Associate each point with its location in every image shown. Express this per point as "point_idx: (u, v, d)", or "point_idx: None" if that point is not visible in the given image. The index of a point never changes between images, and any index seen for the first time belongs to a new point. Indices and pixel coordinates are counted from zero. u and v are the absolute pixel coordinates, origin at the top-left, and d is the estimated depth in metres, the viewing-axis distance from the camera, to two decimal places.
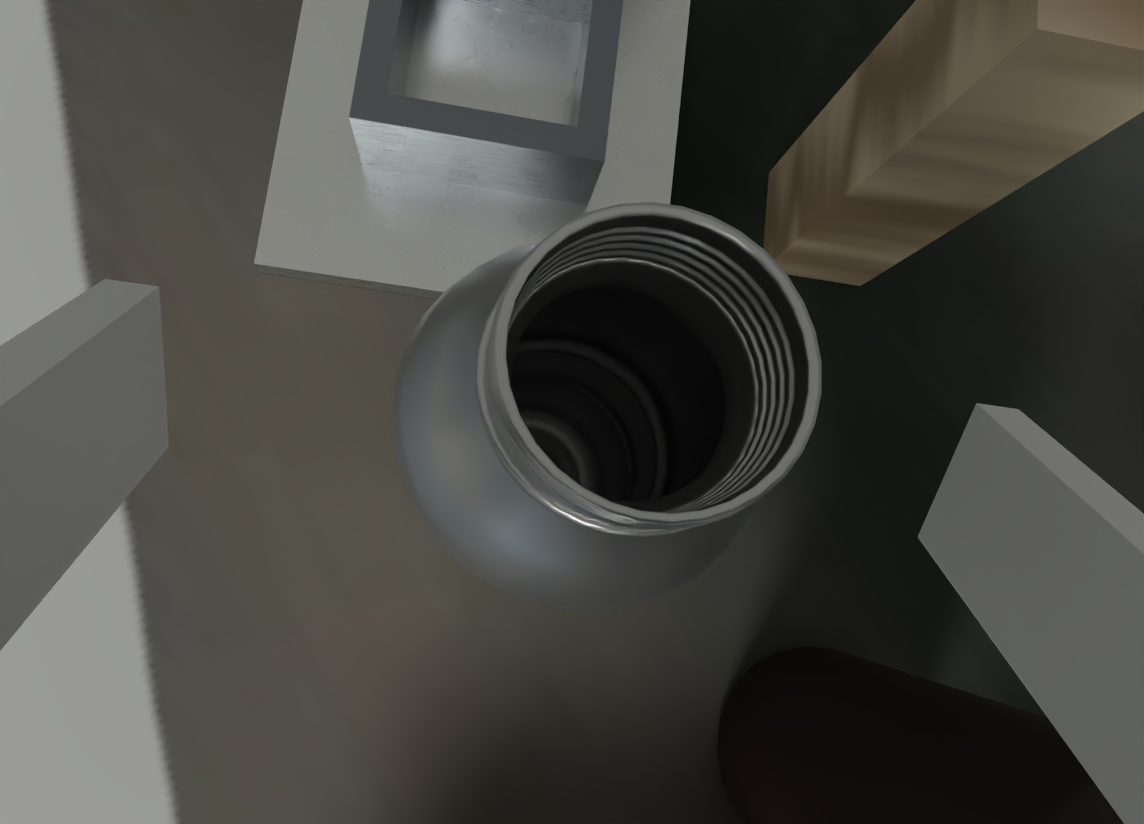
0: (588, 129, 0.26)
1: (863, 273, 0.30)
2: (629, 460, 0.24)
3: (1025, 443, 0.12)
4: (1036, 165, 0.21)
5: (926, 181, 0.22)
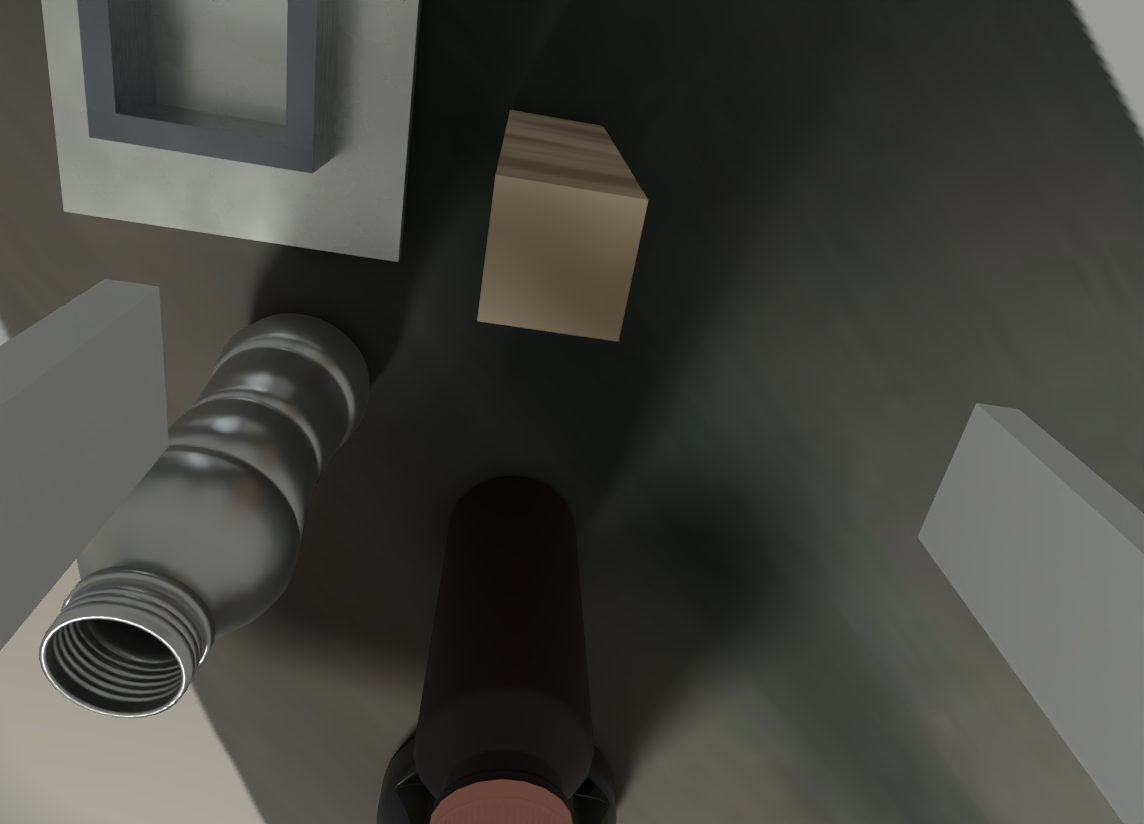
0: (295, 144, 0.30)
1: None
2: None
3: (1025, 443, 0.12)
4: None
5: None
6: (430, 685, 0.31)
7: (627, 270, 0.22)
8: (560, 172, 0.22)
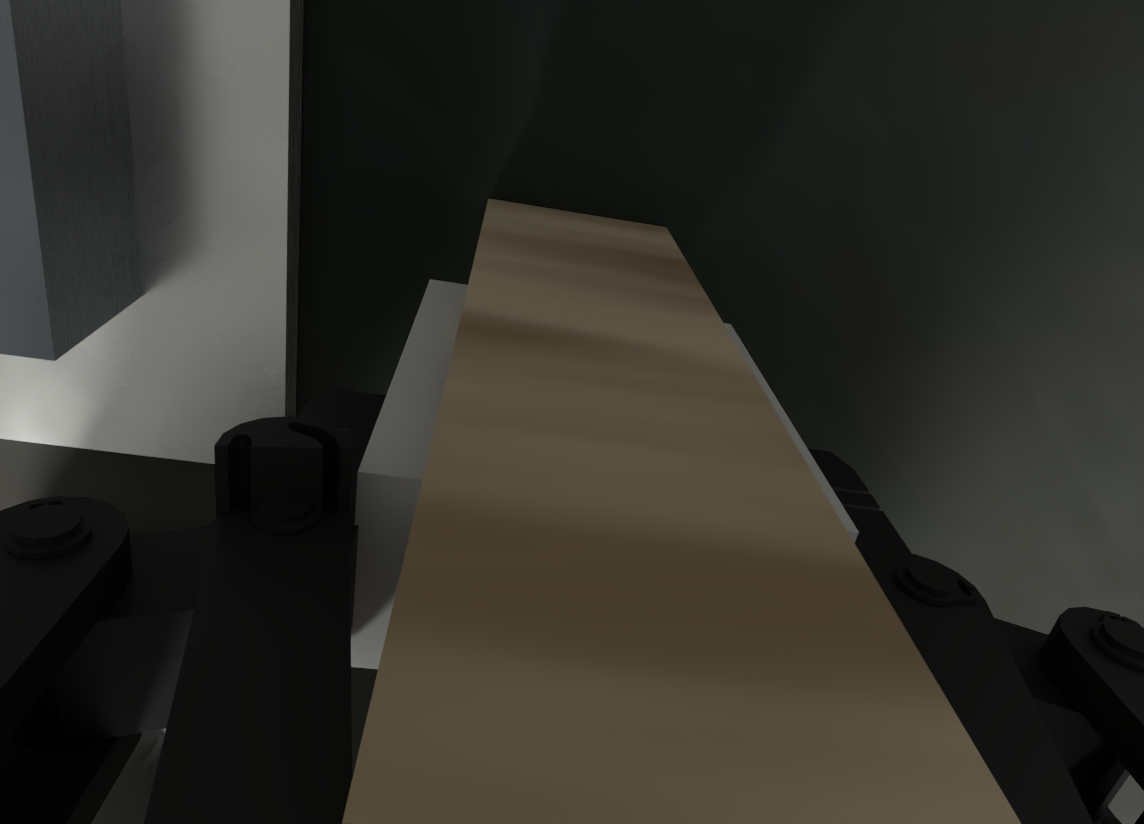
0: (8, 303, 0.14)
1: None
2: None
3: None
4: None
5: None
6: None
7: None
8: (629, 607, 0.06)
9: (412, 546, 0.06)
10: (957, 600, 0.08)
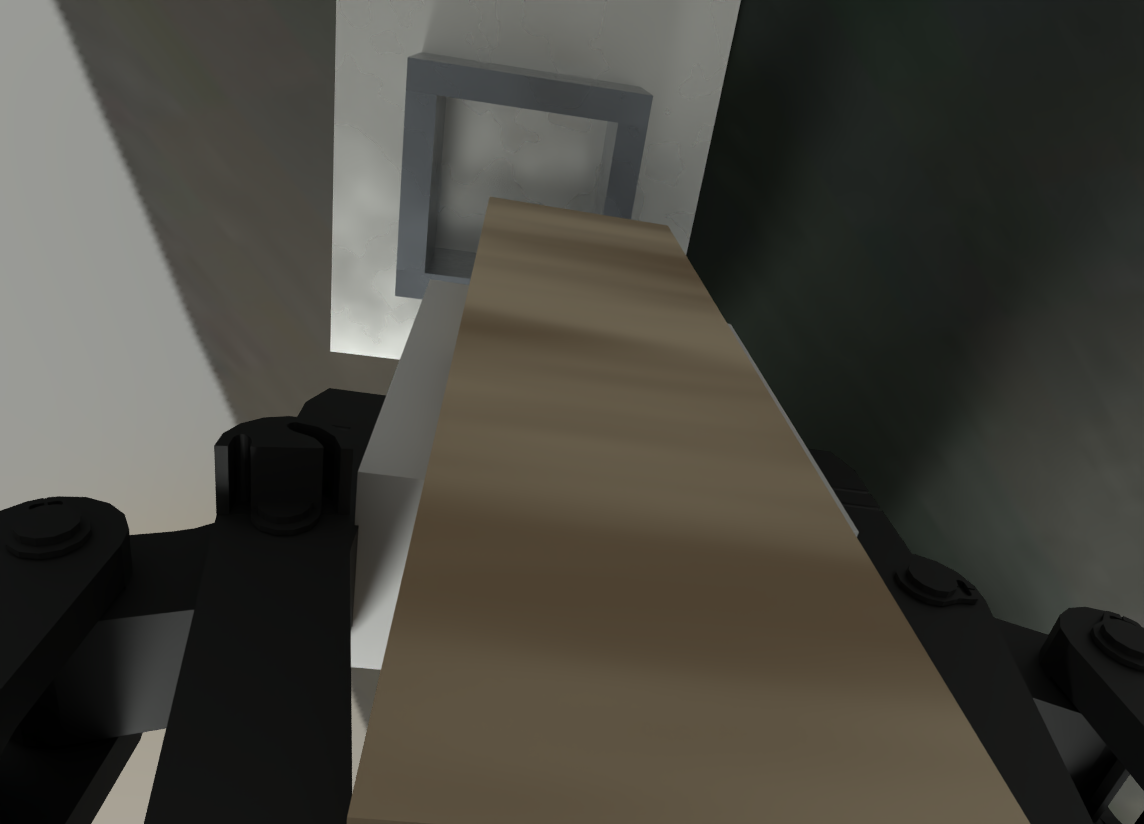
0: None
1: None
2: None
3: None
4: None
5: None
6: None
7: None
8: (634, 603, 0.06)
9: (415, 542, 0.06)
10: (957, 600, 0.08)
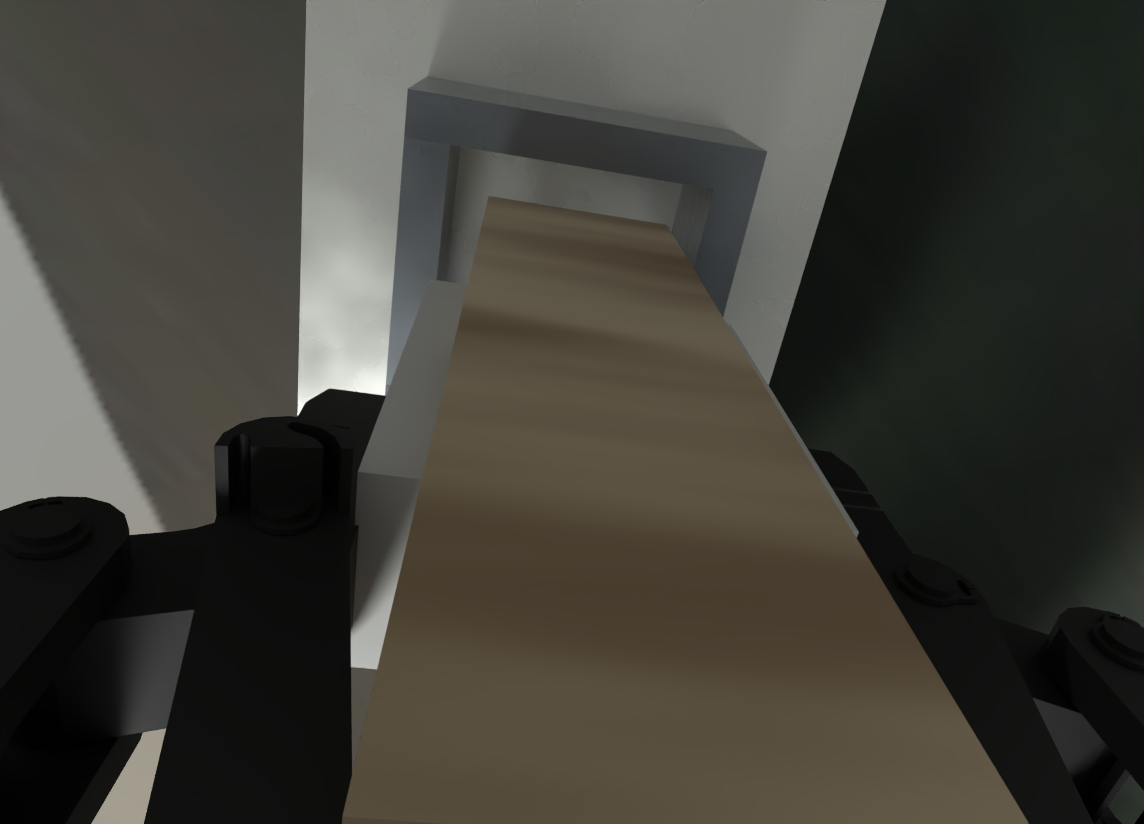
0: None
1: None
2: None
3: None
4: None
5: None
6: None
7: None
8: (631, 602, 0.06)
9: (413, 541, 0.06)
10: (957, 600, 0.08)
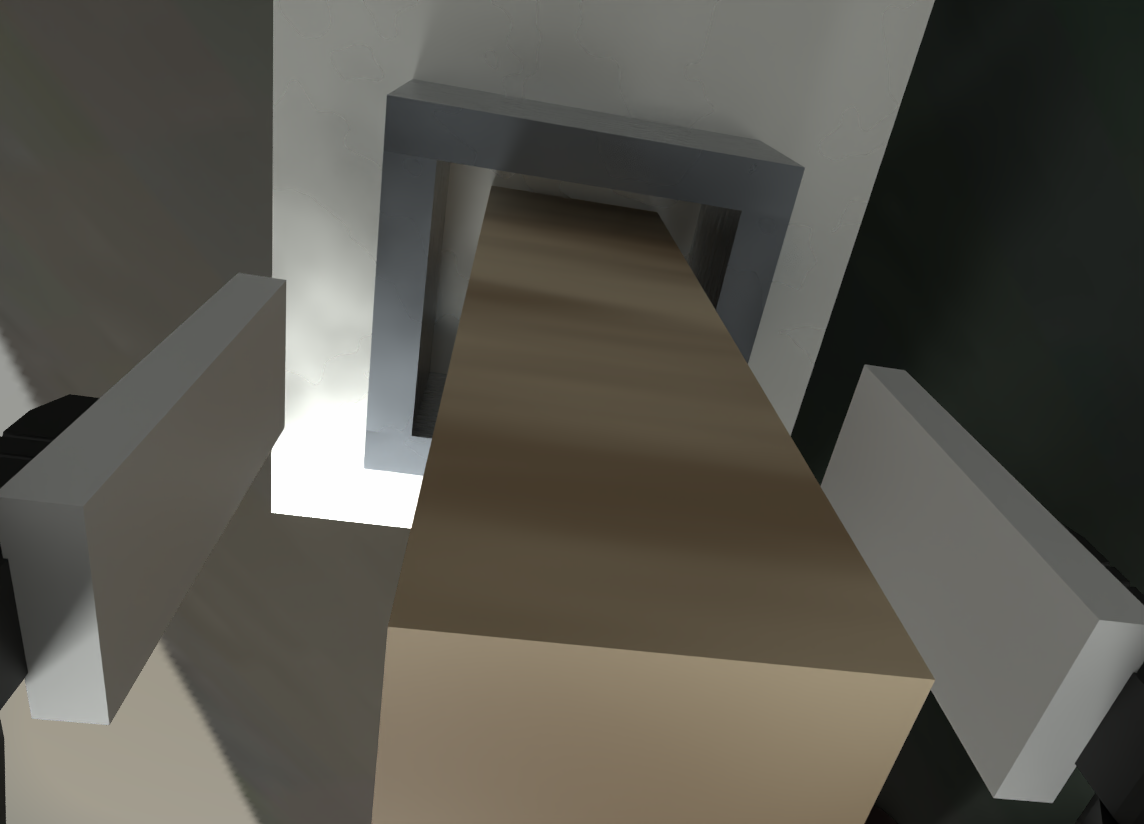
0: None
1: None
2: None
3: (900, 398, 0.13)
4: None
5: None
6: None
7: None
8: (612, 500, 0.07)
9: (433, 453, 0.08)
10: None
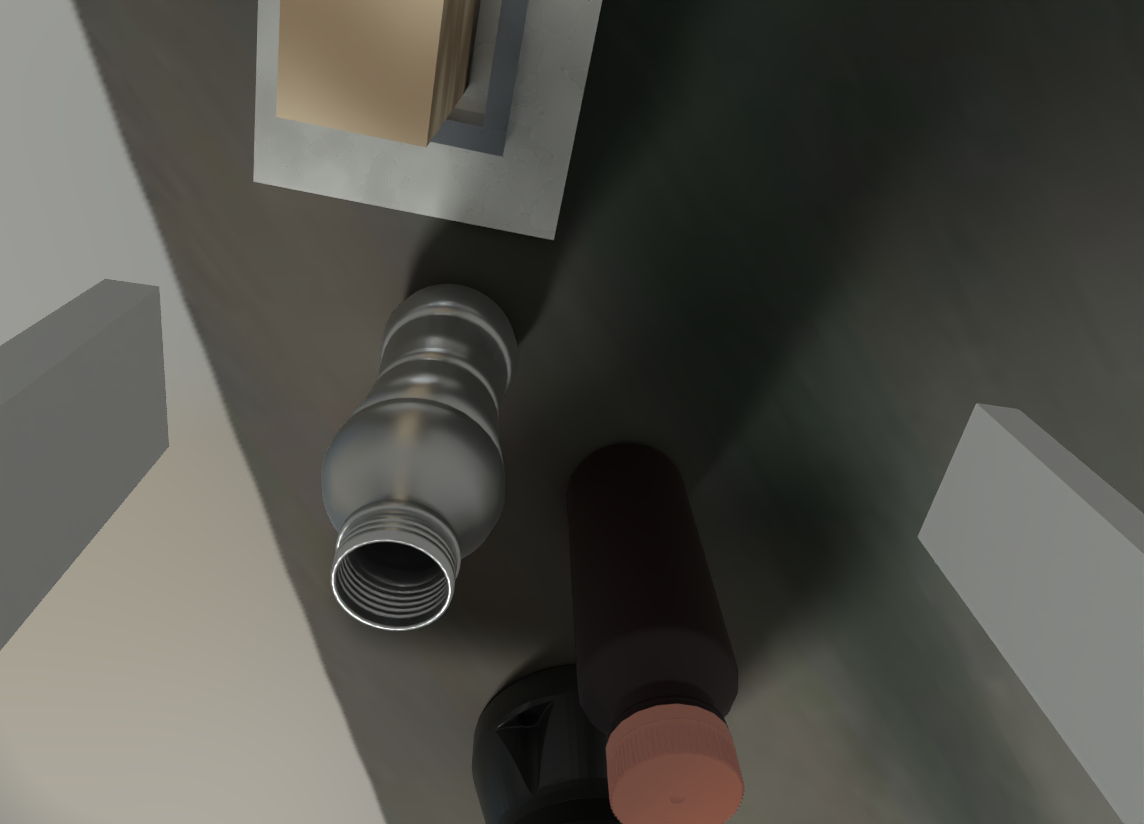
0: (491, 129, 0.33)
1: None
2: None
3: (1025, 442, 0.12)
4: None
5: None
6: (591, 624, 0.34)
7: (429, 65, 0.21)
8: None
9: None
10: None
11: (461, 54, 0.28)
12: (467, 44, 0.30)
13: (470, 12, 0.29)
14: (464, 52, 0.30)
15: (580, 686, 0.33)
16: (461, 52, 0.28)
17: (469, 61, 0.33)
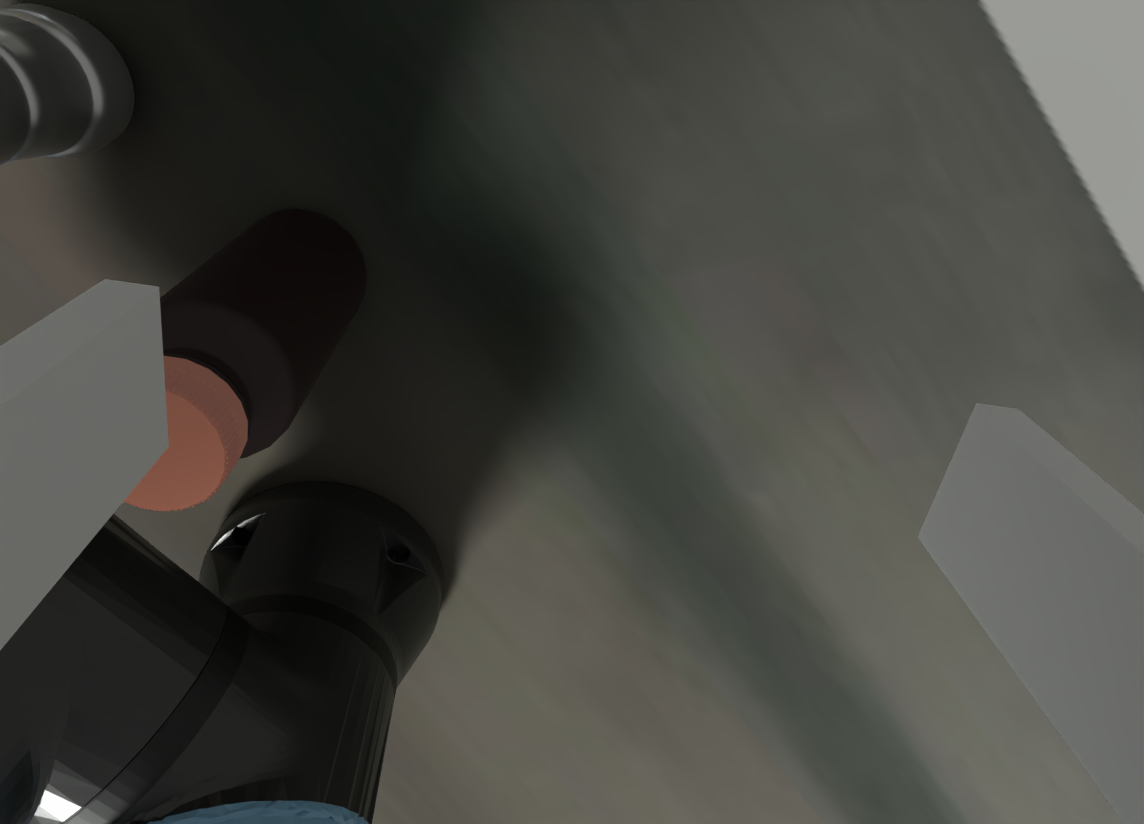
0: None
1: None
2: None
3: (1025, 443, 0.12)
4: None
5: None
6: None
7: None
8: None
9: None
10: None
11: None
12: None
13: None
14: None
15: None
16: None
17: None
